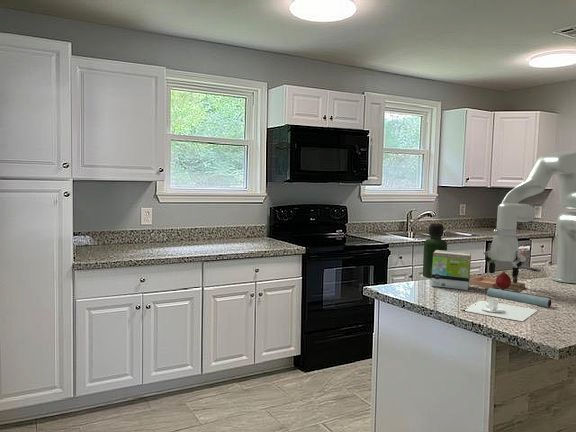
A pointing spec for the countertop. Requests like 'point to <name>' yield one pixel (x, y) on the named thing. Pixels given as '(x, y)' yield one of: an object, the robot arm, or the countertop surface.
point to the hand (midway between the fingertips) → (503, 274)
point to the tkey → (525, 268)
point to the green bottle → (432, 247)
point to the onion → (503, 281)
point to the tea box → (451, 269)
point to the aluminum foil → (520, 297)
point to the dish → (483, 282)
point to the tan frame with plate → (513, 286)
